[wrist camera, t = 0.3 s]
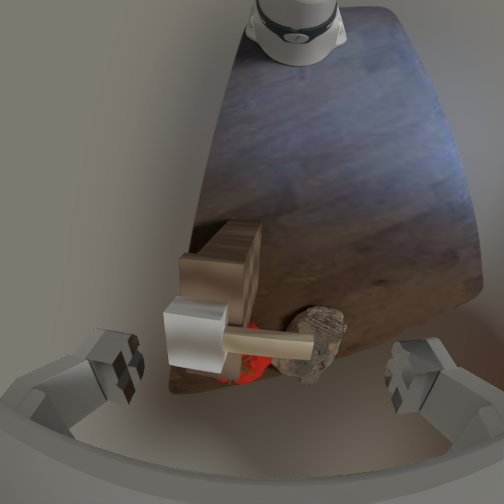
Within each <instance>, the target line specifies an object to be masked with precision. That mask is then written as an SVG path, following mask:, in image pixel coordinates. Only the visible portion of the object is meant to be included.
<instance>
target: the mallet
mask: <svg viewBox="0 0 504 504" xmlns="http://www.w3.org/2000/svg"><path fill="white" fill-rule="evenodd" d="M163 314H164V323H165V332H166V340H167V349H168V358H169V364H170V365H174V366H179V367H184V368H190V369H195V370H201V371H207V372H213V373H220V374H221V371H222V368H223V365H224V362H225V359H226V356H227V353H228V352H232V353H239V354H248V355H256V356H266V357H276V358H287V359H300V360H311V355H312V350H313V345H314V337H313V334H305V333H292V332H281V331H270V330H260V329H251V328H242V327H234V326H228V302H223V301H215V300H207V299H199V298H191V297H184V296H176V297H175V298H174V300H173V301H172V302H171V303H170V305H169V306H168V307H167V308H166V310H165V311H164V312H163Z"/></svg>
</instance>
